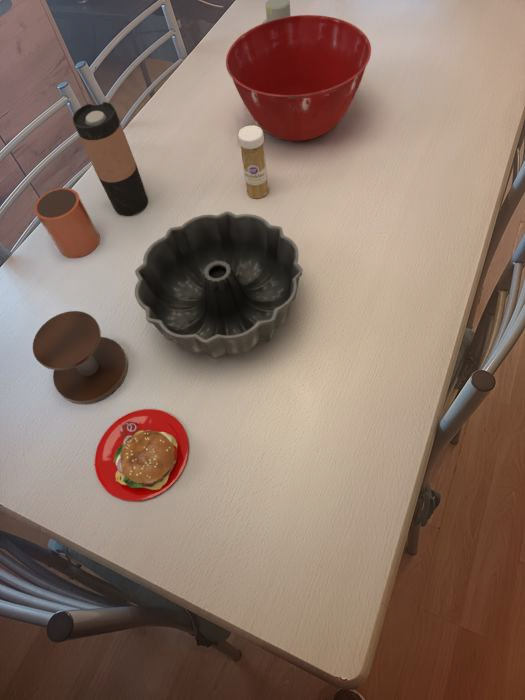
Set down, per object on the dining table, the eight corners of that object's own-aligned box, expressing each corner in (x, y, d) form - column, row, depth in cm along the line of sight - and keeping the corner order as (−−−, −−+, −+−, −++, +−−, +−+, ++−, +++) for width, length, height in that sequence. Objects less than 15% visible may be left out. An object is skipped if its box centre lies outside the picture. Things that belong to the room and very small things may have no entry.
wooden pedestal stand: (43, 395, 80) (10, 364, 72) (77, 334, 86) (50, 299, 78) (108, 411, 78) (82, 381, 69) (139, 347, 83) (118, 312, 75)
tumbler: (51, 254, 97) (25, 216, 88) (71, 224, 101) (48, 185, 92) (88, 261, 95) (65, 222, 87) (106, 230, 99) (86, 190, 90)
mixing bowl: (385, 145, 104) (394, 71, 91) (253, 178, 103) (243, 108, 90) (340, 74, 119) (343, 2, 106) (225, 102, 118) (213, 33, 105)
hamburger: (198, 415, 76) (190, 398, 71) (175, 508, 69) (164, 496, 64) (113, 405, 78) (98, 388, 73) (82, 494, 71) (63, 481, 66)
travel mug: (128, 222, 100) (89, 133, 83) (105, 206, 103) (63, 117, 86) (157, 201, 102) (124, 110, 85) (133, 186, 105) (97, 95, 88)
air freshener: (268, 58, 126) (264, 15, 117) (254, 44, 130) (250, 1, 122) (306, 45, 127) (305, 1, 119) (292, 31, 132) (290, -12, 123)
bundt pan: (202, 234, 96) (190, 193, 87) (328, 276, 87) (329, 235, 79) (122, 340, 85) (100, 305, 76) (258, 399, 76) (250, 367, 68)
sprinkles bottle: (248, 201, 99) (239, 142, 88) (245, 186, 102) (235, 127, 90) (271, 196, 99) (265, 137, 88) (267, 181, 102) (260, 122, 90)
